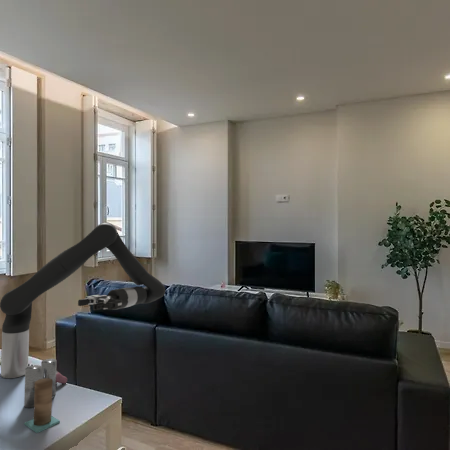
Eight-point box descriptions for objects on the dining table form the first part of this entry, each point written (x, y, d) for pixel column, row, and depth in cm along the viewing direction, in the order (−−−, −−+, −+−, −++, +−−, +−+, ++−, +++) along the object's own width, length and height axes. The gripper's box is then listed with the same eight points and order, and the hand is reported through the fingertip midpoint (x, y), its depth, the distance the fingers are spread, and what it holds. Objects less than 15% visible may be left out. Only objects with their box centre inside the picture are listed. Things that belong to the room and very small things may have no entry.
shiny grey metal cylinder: (37, 395, 127) (38, 361, 127) (50, 390, 131) (51, 357, 131) (45, 400, 124) (46, 365, 124) (58, 394, 128) (59, 361, 128)
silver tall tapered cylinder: (20, 405, 120) (22, 369, 120) (33, 399, 124) (34, 364, 125) (30, 409, 118) (32, 371, 118) (43, 402, 122) (44, 366, 123)
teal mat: (24, 424, 110) (24, 422, 110) (46, 414, 115) (46, 412, 115) (37, 433, 106) (37, 431, 106) (59, 422, 112) (59, 420, 112)
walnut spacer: (30, 422, 110) (31, 382, 110) (45, 415, 114) (46, 376, 114) (39, 427, 107) (40, 386, 107) (54, 420, 111) (55, 380, 111)
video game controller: (41, 384, 139) (34, 370, 136) (51, 374, 143) (44, 361, 140) (59, 390, 135) (53, 377, 132) (69, 380, 138) (62, 367, 135)
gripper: (110, 285, 146) (74, 291, 132) (135, 291, 138) (99, 297, 124) (110, 304, 146) (73, 312, 132) (134, 311, 138) (98, 319, 124)
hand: (85, 305), depth 128 cm, fingers open, 8 cm apart
